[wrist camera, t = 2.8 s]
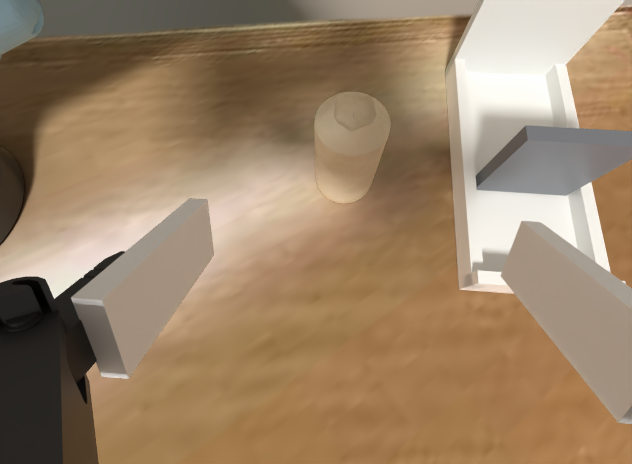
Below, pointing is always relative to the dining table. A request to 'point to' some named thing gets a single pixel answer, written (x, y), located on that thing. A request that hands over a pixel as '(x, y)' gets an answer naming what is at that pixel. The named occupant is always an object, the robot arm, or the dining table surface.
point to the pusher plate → (554, 160)
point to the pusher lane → (515, 126)
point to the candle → (349, 144)
